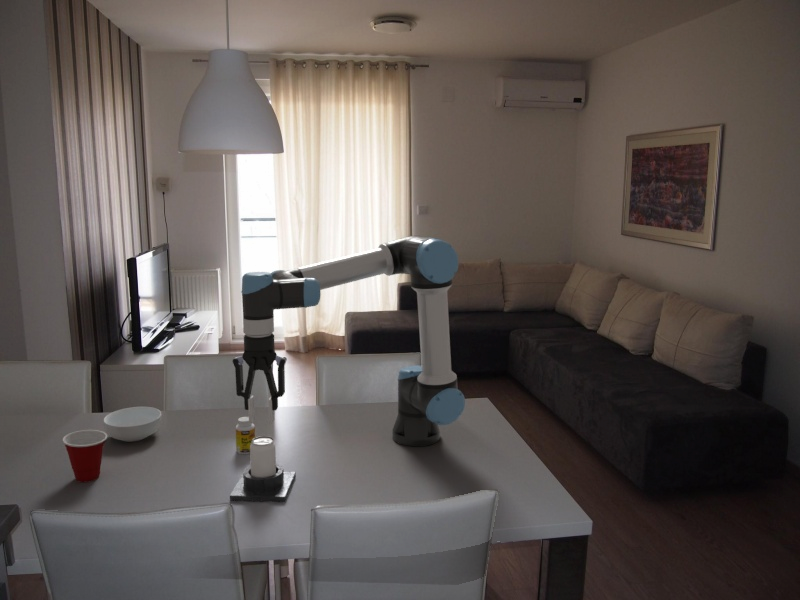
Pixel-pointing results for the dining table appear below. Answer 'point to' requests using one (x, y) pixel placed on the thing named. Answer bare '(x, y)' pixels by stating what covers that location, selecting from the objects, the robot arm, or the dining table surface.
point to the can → (263, 457)
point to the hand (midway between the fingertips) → (261, 421)
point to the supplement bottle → (244, 435)
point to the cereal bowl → (132, 423)
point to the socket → (263, 487)
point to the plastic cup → (85, 453)
